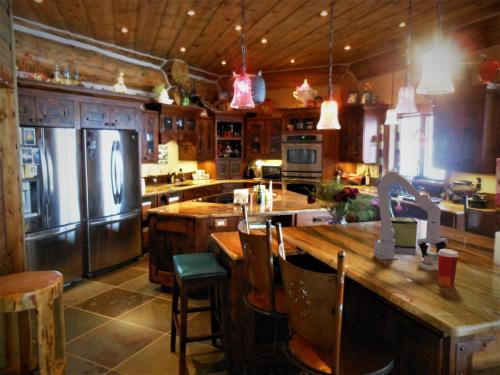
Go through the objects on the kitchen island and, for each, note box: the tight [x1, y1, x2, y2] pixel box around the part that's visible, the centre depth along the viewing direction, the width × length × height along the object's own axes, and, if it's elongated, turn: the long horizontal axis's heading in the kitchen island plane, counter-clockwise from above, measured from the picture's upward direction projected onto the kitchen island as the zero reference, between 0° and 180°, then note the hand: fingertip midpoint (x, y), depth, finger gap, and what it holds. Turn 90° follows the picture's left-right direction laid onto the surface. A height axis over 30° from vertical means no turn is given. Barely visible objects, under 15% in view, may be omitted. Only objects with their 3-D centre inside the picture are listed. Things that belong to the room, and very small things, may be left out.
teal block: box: [427, 251, 438, 261], centre depth 186 cm, size 4×4×5 cm
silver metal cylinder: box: [423, 255, 434, 266], centre depth 179 cm, size 4×4×5 cm
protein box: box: [391, 216, 418, 250], centre depth 217 cm, size 10×16×16 cm
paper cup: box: [437, 248, 460, 288], centre depth 157 cm, size 8×8×14 cm
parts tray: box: [417, 260, 438, 271], centre depth 179 cm, size 12×7×2 cm, turn 99°
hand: (431, 257), depth 186 cm, fingers open, 7 cm apart
